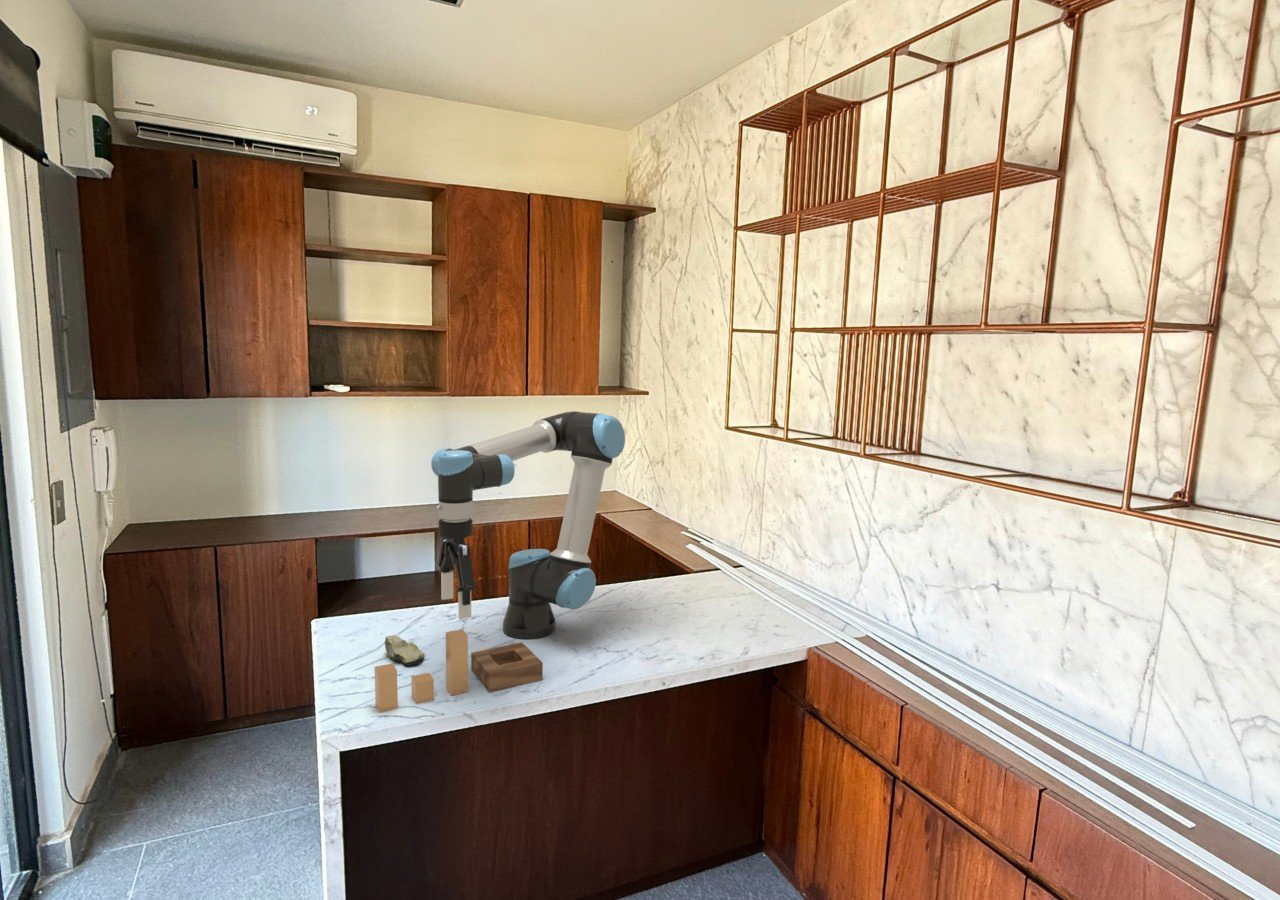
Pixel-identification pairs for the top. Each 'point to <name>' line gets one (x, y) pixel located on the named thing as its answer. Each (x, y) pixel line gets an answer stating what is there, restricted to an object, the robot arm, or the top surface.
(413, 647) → the rock
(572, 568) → the robot arm
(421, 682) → the short pin
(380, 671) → the medium pin
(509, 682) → the hole block
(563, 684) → the top surface
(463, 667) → the long pin
